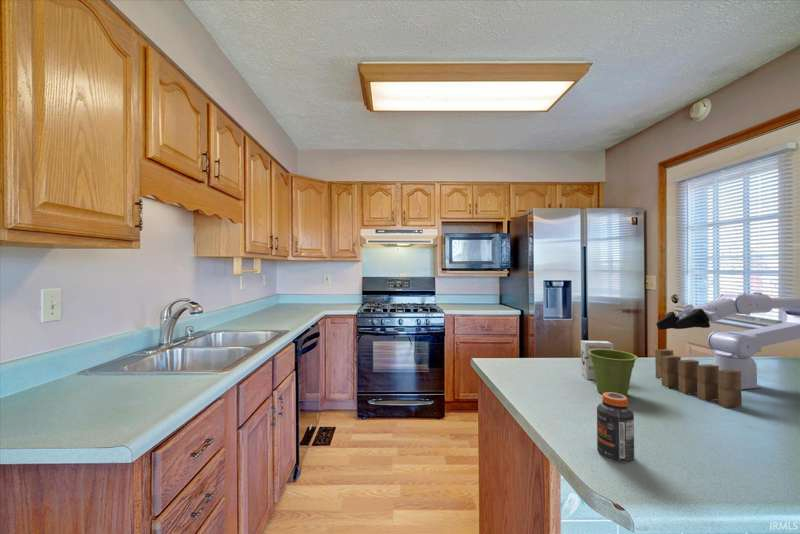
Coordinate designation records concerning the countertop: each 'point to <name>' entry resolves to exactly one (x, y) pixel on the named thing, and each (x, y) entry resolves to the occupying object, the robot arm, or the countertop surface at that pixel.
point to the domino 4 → (707, 382)
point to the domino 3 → (687, 376)
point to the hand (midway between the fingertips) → (667, 325)
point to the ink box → (586, 361)
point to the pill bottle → (615, 428)
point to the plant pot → (612, 370)
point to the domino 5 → (729, 388)
